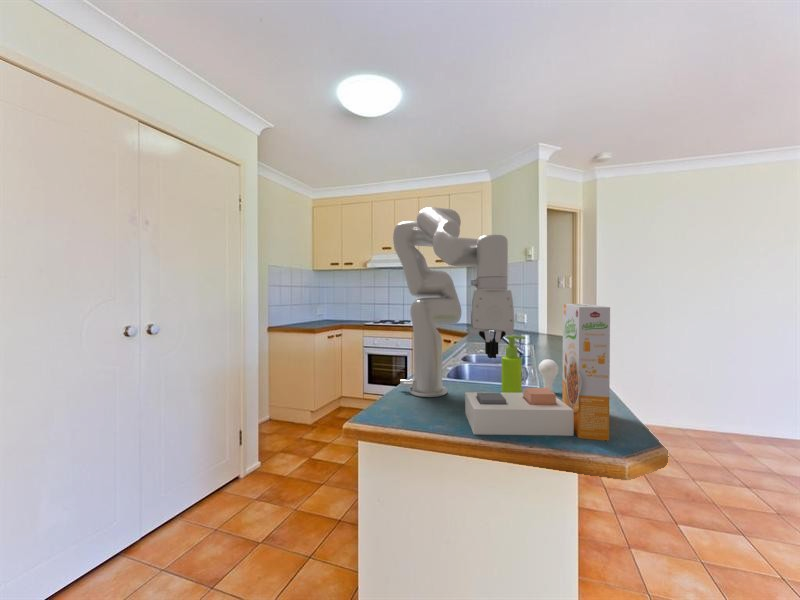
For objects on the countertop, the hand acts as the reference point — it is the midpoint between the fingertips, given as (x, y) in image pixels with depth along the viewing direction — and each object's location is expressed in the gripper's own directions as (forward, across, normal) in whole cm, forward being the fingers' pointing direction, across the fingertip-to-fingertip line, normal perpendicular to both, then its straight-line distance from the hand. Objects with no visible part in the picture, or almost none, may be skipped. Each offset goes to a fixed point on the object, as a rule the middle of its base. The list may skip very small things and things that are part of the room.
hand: (491, 357), depth 90 cm
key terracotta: (+12, +12, 0) cm, 17 cm away
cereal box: (+17, +24, +2) cm, 29 cm away
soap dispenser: (+17, +11, +20) cm, 29 cm away
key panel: (+17, +6, 0) cm, 18 cm away
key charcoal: (+14, 0, 0) cm, 14 cm away
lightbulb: (+17, +25, +29) cm, 42 cm away
